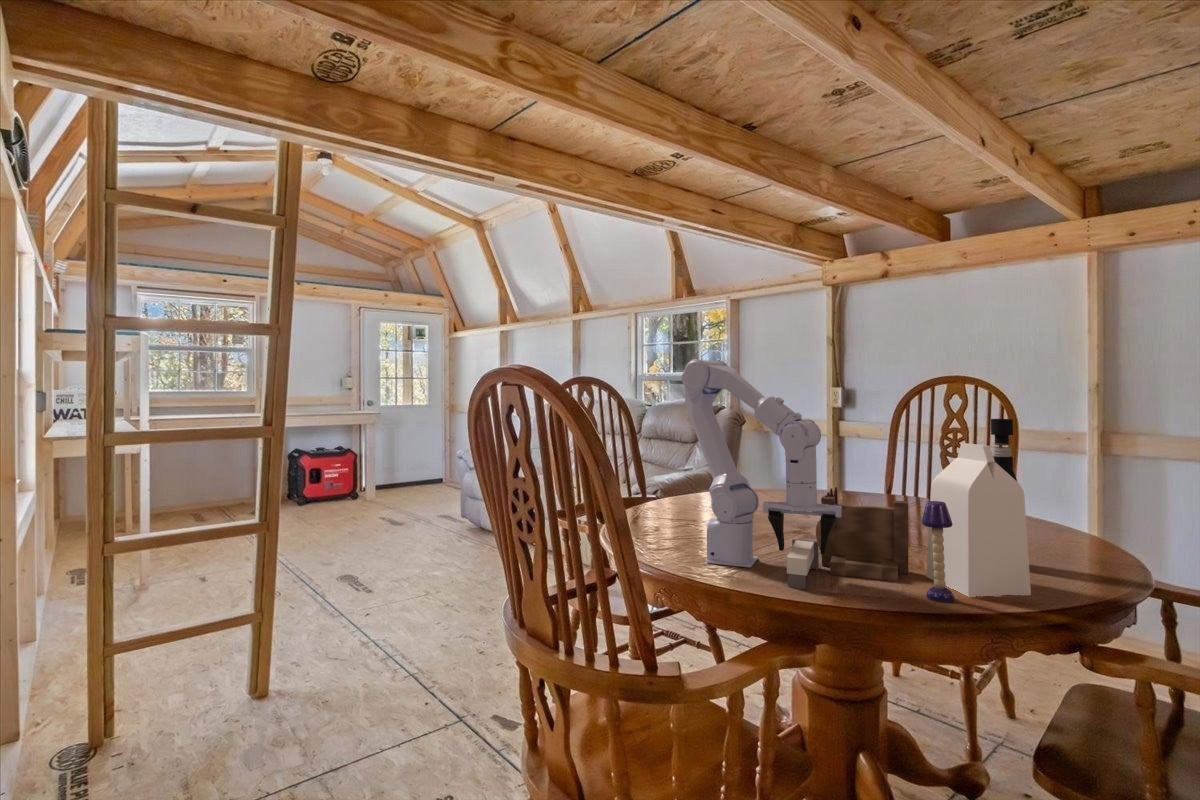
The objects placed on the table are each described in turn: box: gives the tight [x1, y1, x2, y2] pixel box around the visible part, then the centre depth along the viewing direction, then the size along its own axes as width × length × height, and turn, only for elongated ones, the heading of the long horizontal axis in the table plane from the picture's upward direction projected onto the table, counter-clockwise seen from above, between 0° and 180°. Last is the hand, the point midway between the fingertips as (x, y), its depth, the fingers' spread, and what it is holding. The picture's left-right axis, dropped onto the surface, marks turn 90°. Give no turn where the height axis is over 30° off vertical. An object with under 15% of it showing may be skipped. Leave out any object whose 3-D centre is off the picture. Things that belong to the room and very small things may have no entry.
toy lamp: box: [921, 501, 955, 603], centre depth 105 cm, size 5×5×17 cm
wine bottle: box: [990, 418, 1018, 482], centre depth 125 cm, size 6×6×30 cm
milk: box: [925, 442, 1032, 598], centre depth 112 cm, size 12×12×26 cm
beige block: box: [786, 538, 819, 590], centre depth 118 cm, size 5×15×6 cm, turn 155°
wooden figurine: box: [815, 486, 840, 550], centre depth 135 cm, size 7×6×15 cm
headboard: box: [820, 496, 909, 582], centre depth 120 cm, size 16×8×14 cm, turn 65°
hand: (802, 551), depth 118 cm, fingers open, 7 cm apart
